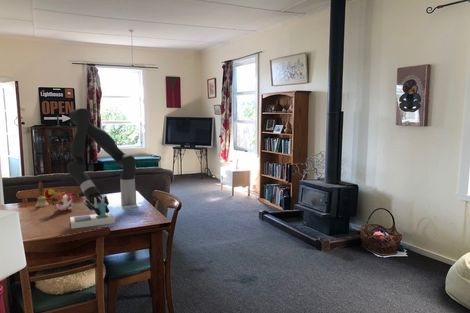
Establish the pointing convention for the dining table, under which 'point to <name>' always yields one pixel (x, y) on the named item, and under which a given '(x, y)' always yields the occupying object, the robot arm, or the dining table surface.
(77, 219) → the slate pad
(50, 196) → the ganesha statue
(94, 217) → the well board
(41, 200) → the hand bell
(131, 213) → the dining table surface
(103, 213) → the teal block
